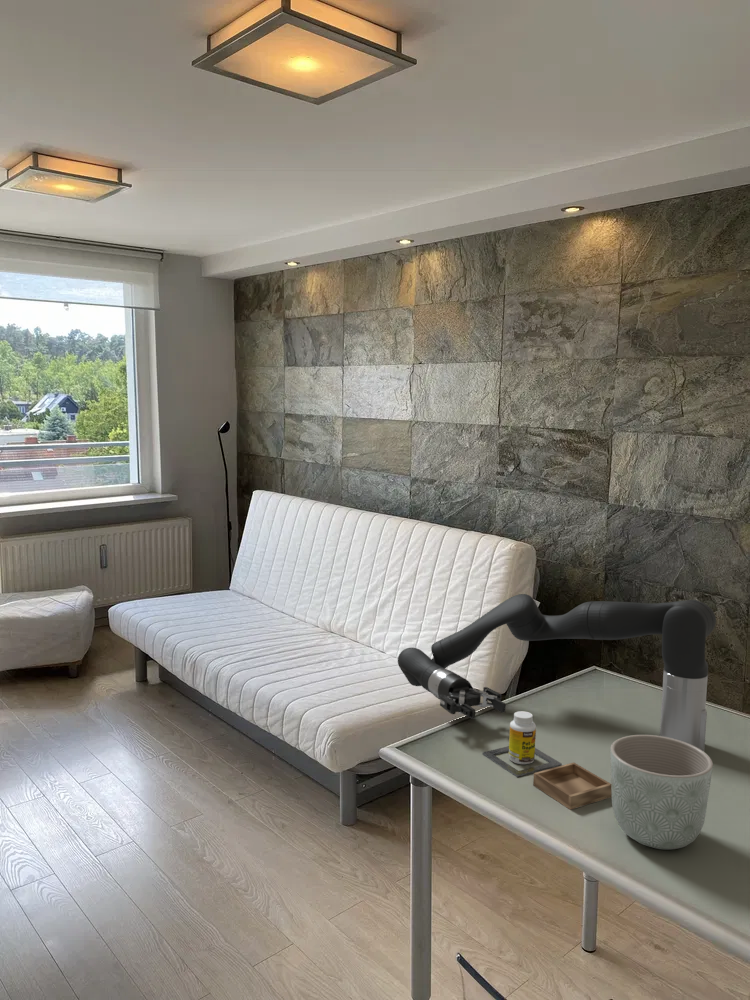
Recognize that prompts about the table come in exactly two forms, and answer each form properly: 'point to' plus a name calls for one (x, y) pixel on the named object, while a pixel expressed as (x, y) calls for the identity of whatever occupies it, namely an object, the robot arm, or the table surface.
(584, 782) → the tray
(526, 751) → the supplement bottle
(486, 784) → the table surface
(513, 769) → the grey square frame
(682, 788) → the planter
